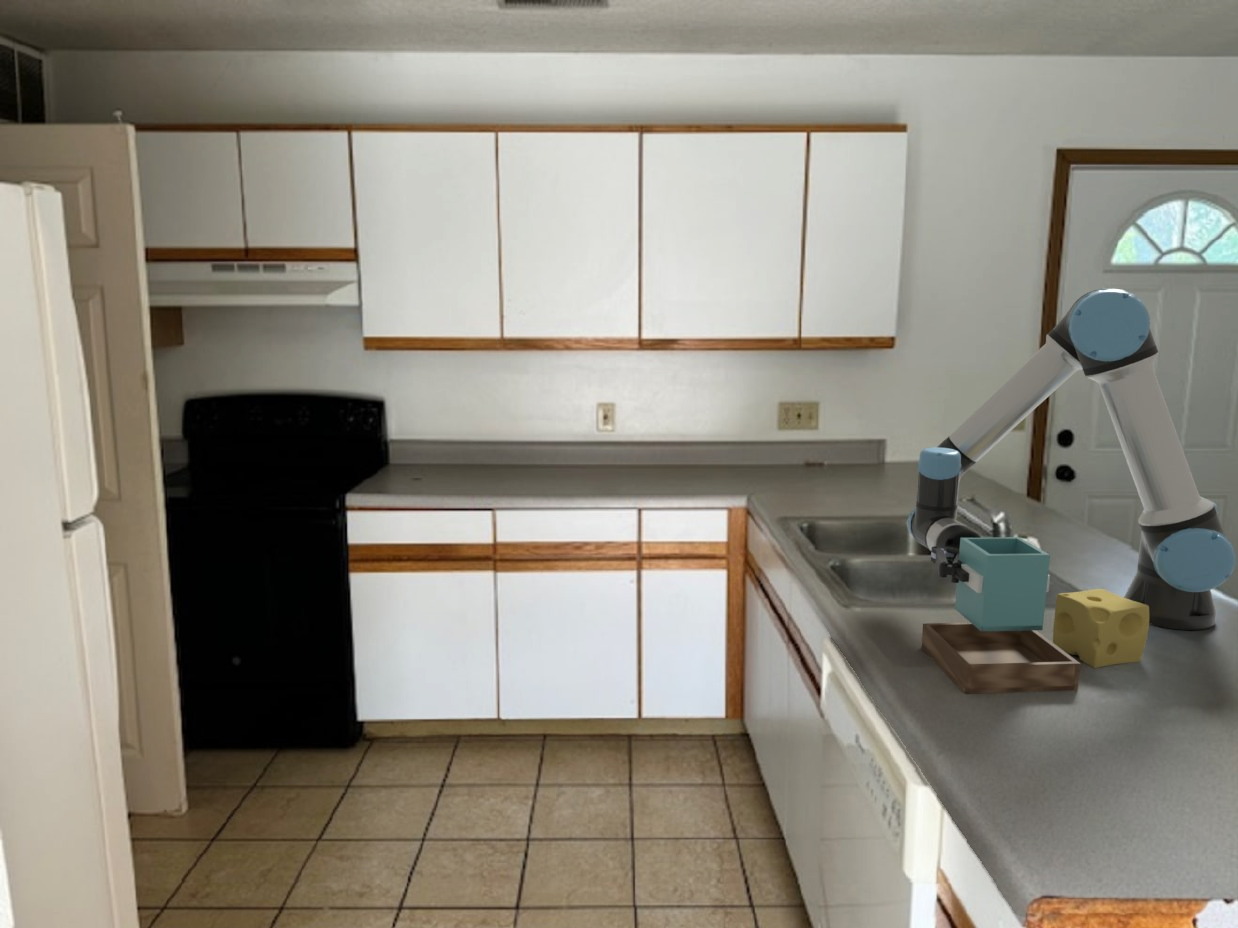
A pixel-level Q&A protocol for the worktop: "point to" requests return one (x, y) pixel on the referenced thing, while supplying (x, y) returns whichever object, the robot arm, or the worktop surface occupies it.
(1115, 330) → the robot arm
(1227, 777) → the worktop surface
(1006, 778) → the worktop surface
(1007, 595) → the teal crate
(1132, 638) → the cheese
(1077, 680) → the walnut crate
